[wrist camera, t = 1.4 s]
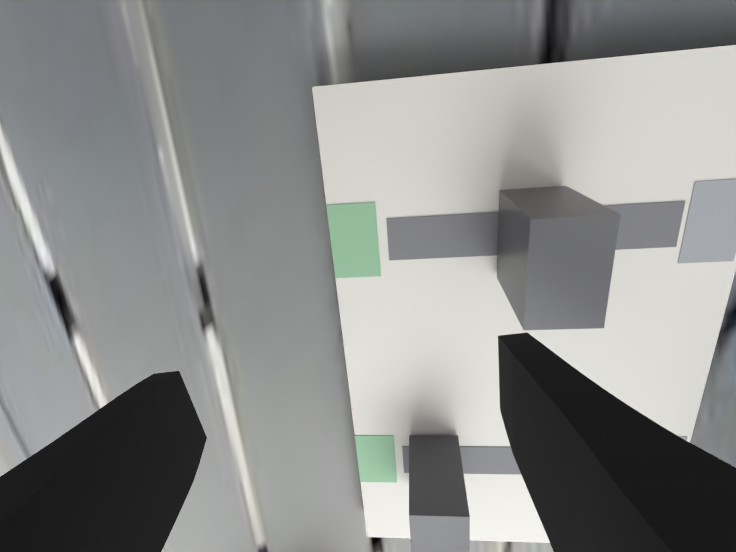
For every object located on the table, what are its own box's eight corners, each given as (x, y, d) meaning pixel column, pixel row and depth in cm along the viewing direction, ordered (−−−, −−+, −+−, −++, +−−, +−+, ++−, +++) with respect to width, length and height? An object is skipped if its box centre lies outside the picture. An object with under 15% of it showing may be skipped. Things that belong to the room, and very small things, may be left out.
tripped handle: (565, 185, 16) (620, 214, 11) (557, 274, 17) (604, 328, 13) (499, 189, 16) (530, 219, 12) (496, 276, 17) (523, 330, 13)
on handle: (457, 435, 20) (469, 516, 16) (458, 488, 22) (468, 576, 18) (409, 435, 21) (408, 515, 17) (412, 487, 22) (412, 573, 18)
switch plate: (760, 45, 15) (798, 38, 13) (647, 520, 24) (662, 547, 22) (320, 88, 17) (311, 86, 15) (369, 513, 26) (367, 537, 24)
